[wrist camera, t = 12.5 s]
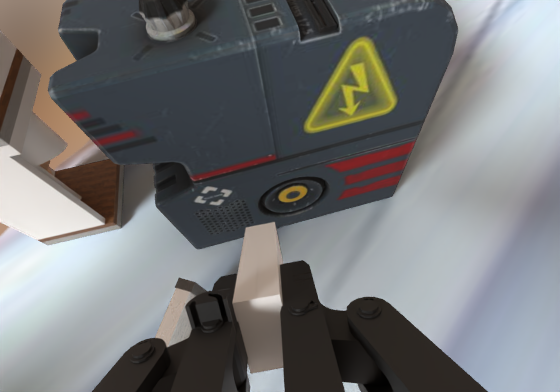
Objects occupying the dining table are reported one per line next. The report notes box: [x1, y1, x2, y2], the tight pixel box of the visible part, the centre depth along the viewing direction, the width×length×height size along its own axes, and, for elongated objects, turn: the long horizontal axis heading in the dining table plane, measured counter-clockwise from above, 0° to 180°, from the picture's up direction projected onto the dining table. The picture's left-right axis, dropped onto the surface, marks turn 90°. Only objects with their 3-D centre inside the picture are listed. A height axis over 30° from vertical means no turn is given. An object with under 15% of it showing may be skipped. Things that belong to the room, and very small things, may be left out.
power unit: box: [48, 0, 458, 249], centre depth 37 cm, size 28×28×30 cm
